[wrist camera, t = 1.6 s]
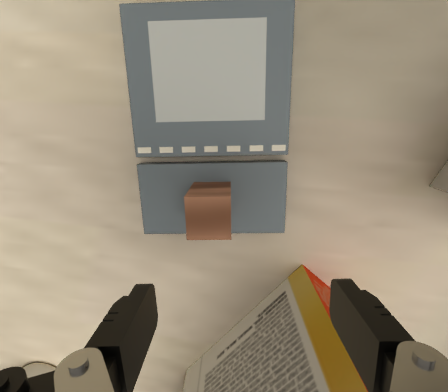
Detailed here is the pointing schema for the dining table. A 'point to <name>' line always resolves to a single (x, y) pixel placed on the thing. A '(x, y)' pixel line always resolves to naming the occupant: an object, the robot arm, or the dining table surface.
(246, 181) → the blue-grey two-tone fixture
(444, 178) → the plain grey carton
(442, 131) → the dining table surface
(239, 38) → the blue-grey display panel
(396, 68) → the dining table surface
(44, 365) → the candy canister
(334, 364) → the pasta box
